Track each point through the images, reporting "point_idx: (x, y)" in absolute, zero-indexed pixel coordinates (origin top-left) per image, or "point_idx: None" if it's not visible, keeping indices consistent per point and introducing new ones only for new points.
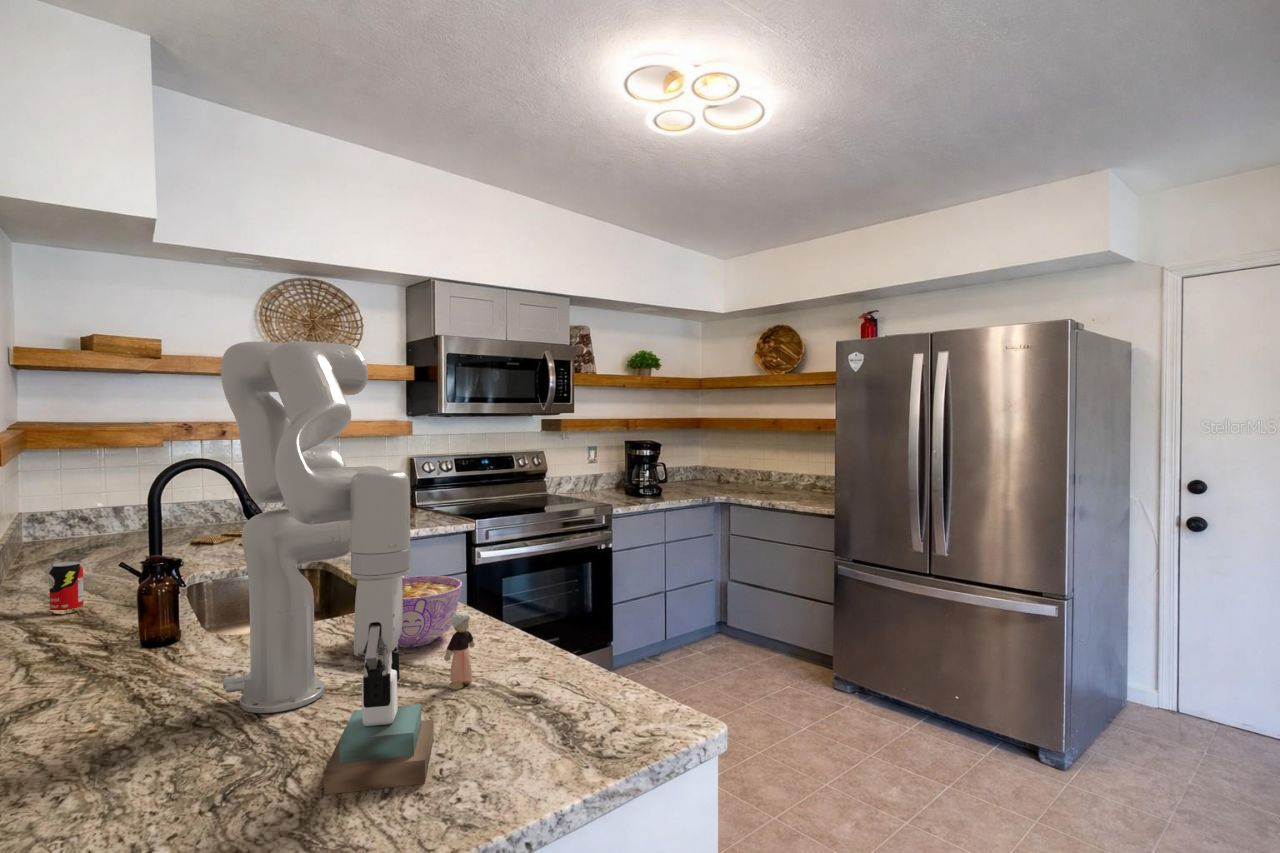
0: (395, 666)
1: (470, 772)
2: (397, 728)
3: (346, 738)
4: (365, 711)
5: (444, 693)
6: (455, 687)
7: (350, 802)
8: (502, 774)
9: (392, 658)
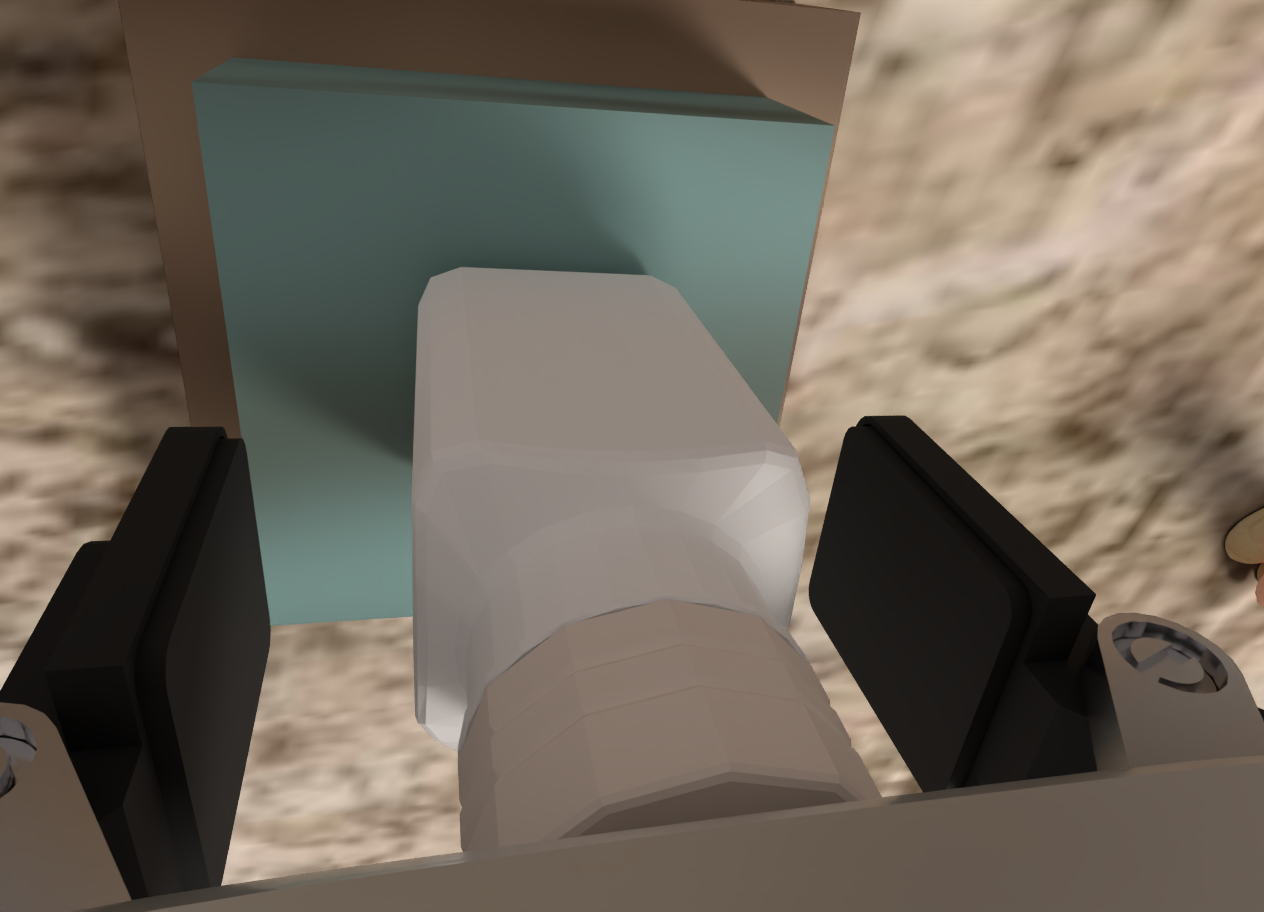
0: (877, 687)
1: (328, 681)
2: (363, 516)
3: (213, 148)
4: (418, 340)
5: (1223, 485)
6: (1240, 535)
7: (46, 141)
8: (287, 789)
9: (932, 736)
